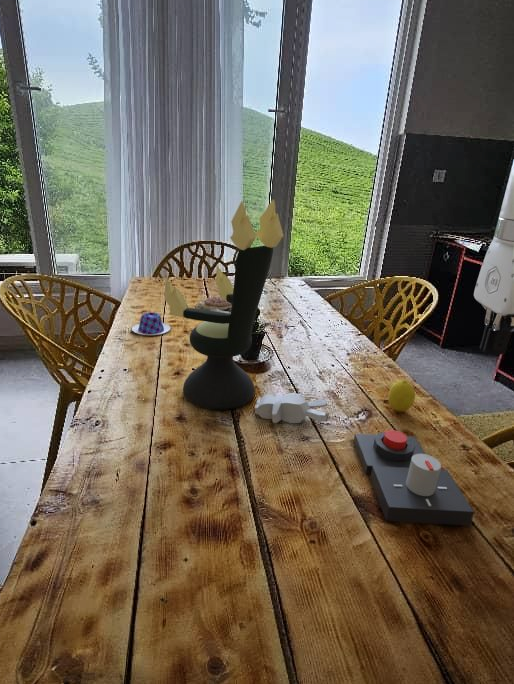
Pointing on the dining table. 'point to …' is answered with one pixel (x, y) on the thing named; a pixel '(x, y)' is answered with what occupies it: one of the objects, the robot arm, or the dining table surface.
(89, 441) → the dining table surface
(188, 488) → the dining table surface
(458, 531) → the dining table surface
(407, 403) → the lemon
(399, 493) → the knob control plate
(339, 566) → the dining table surface
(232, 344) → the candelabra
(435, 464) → the dial
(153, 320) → the pudding
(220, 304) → the decorative turtle
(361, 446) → the switch block
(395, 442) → the power button
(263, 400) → the bunny figurine
